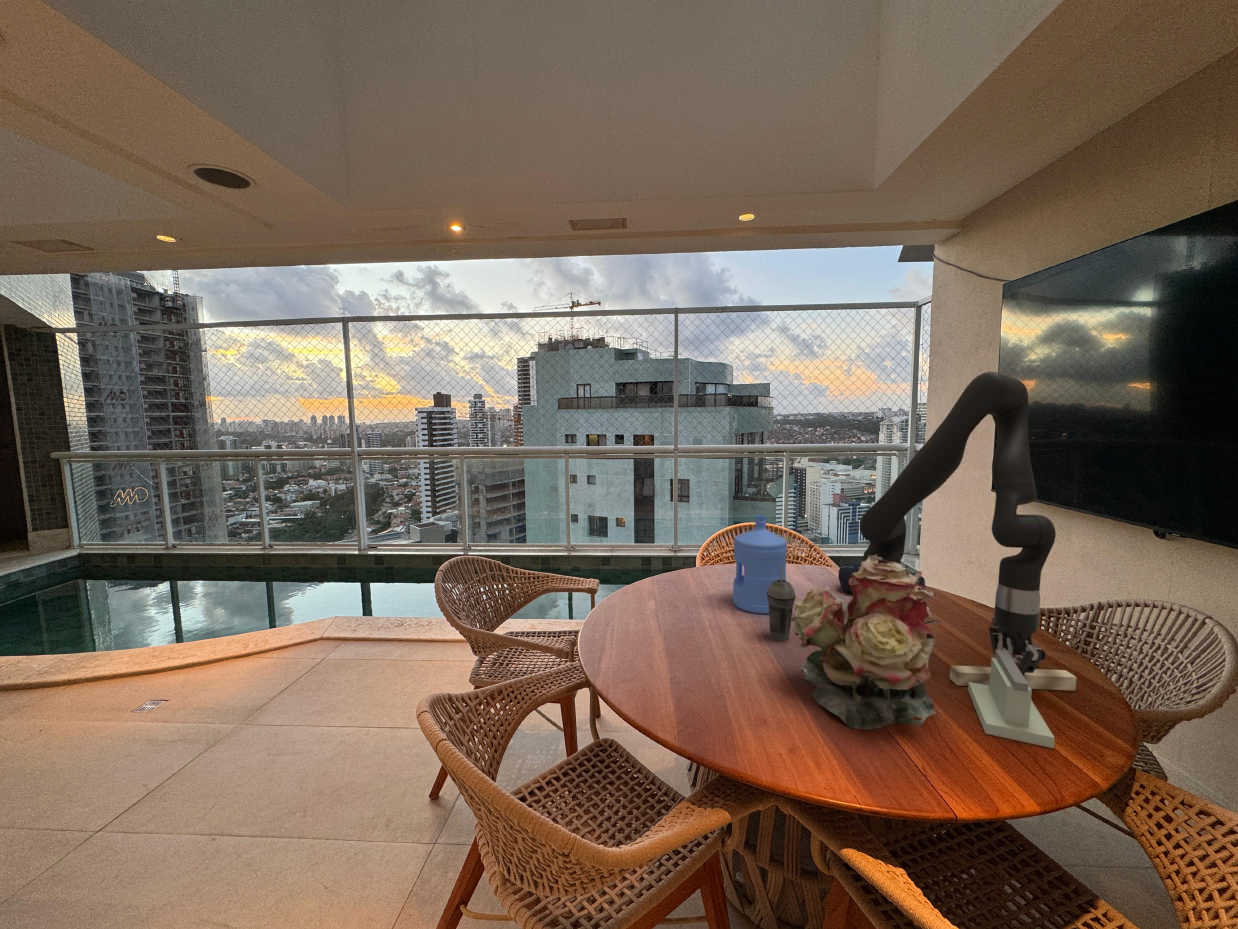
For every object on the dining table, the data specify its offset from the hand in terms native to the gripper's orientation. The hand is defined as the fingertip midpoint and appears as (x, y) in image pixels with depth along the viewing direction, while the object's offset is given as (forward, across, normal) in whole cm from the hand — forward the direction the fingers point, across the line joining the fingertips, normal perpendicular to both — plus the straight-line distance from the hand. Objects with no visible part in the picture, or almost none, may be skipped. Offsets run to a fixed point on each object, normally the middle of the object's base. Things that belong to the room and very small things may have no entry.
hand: (1010, 682), depth 111 cm
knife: (+1, +20, -14) cm, 24 cm away
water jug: (+1, +42, +46) cm, 63 cm away
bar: (+1, 0, 0) cm, 1 cm away
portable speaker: (+1, +53, +6) cm, 53 cm away
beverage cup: (+1, +20, +45) cm, 49 cm away
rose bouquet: (+1, -8, +33) cm, 34 cm away
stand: (+1, -13, +9) cm, 15 cm away
